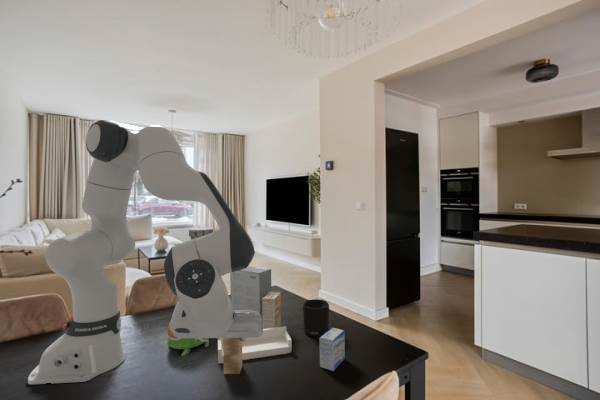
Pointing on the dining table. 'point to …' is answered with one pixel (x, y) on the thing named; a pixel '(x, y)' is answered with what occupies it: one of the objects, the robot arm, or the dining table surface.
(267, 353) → the cream shelf
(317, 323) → the pen holder
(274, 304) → the supplement box
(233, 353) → the oak blank
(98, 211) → the robot arm
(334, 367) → the medicine box
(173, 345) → the turtle holder
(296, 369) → the dining table surface
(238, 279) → the hard drive box
